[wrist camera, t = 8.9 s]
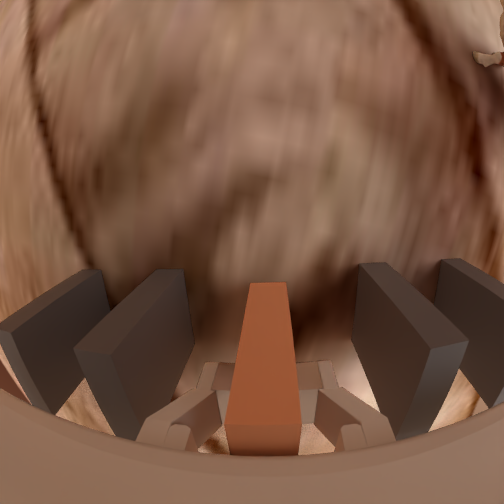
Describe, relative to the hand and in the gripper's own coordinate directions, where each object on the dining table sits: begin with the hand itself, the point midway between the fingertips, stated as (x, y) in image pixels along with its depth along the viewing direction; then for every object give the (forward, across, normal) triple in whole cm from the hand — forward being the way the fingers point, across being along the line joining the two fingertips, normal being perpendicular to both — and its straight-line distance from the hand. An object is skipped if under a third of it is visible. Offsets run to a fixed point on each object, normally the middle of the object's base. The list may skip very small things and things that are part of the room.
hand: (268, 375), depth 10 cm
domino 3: (+4, 0, 0) cm, 4 cm away
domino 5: (+6, -11, 0) cm, 13 cm away
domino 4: (+6, -6, 0) cm, 8 cm away
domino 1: (+6, +11, 0) cm, 12 cm away
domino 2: (+6, +5, 0) cm, 8 cm away
